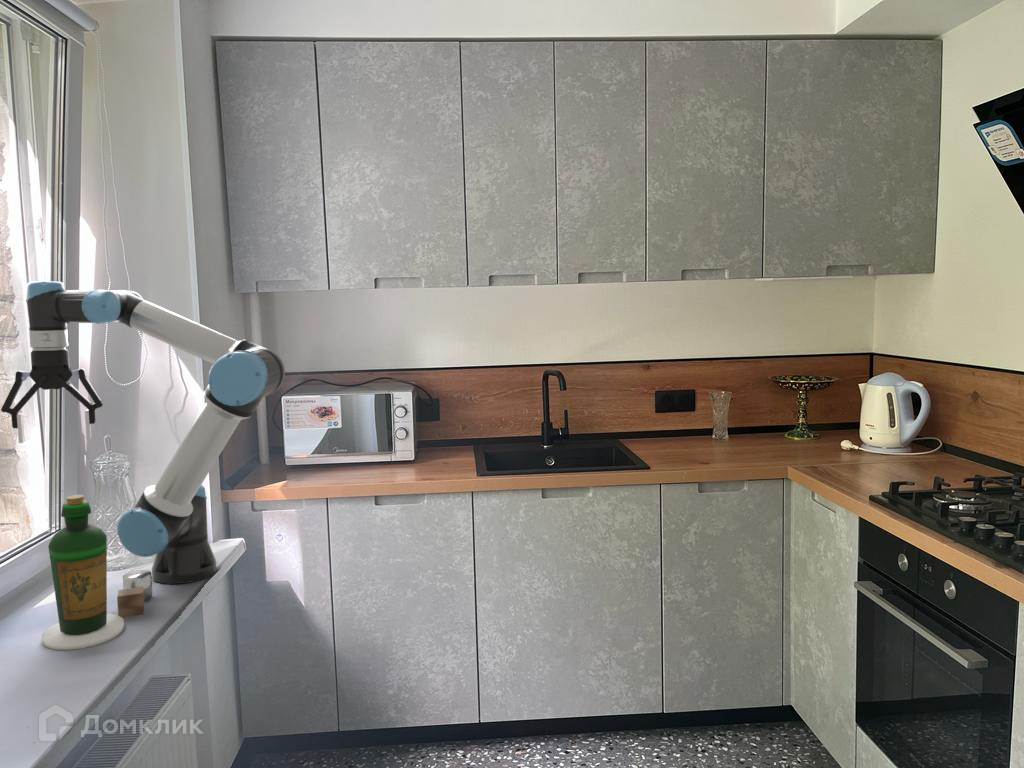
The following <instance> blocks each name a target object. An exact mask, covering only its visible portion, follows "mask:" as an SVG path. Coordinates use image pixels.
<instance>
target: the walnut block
mask: <svg viewBox="0 0 1024 768" xmlns="http://www.w3.org/2000/svg"><path fill="white" fill-rule="evenodd" d="M116 596H117V600H116V601H117V615H118V616H120V617H122V618H123V619H125V618H127V617H128V618H129V617H136V616H143V615H145V603H144V591H143V587H139V588H131V589H124V590H123V589H119V590H117V595H116Z"/></svg>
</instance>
